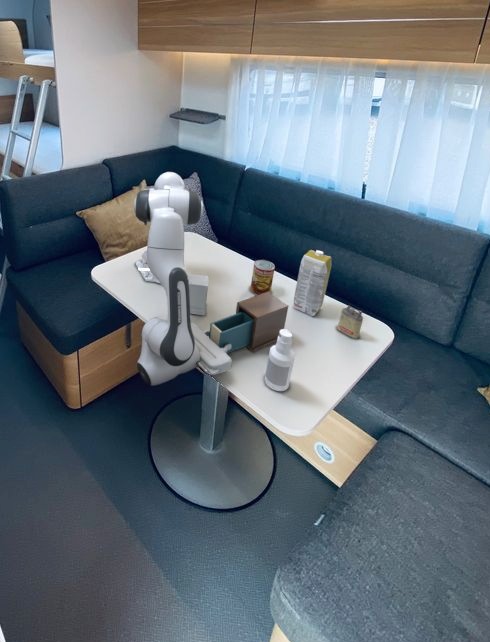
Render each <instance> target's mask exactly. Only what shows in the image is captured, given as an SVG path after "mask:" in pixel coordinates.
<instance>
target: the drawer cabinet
mask: <svg viewBox="0 0 490 642" xmlns="http://www.w3.org/2000/svg"><path fill="white" fill-rule="evenodd" d="M235 308H236V309H235V314H237V313H240V312H243V311H244V312H245V313H246V314H248V315H249V316H250V317H252V318H253V319H254V322H253V329H252V335H251V341H250V344H249V345H246V346H245V347H246V348H248V349H249V350H250V351H251V352H255V351H257V350H259V349H262V348H264V347H266V346H269V345H271V344H274V343H277V339H278V336H279V333H280V330H281V329H285V326H286V322H287V321H286V320H287V315H288V311H289V305H288V304H286V303H285V302H284V301H282V300H281V299H279V298H278V297H277V296H275V295H273V293H269V292H266V293H263V294H260V295H254V296H251V297H249V298H245V299H243V300H239V301H237V302H236V307H235Z"/></svg>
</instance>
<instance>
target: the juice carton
mask: <svg viewBox="0 0 490 642" xmlns="http://www.w3.org/2000/svg"><path fill="white" fill-rule="evenodd" d="M331 269H332V257H331V256H330V255H326V254H324V251H322V250H317V249H316V251H315V250H312V249H310V250H308V251H307V252H306V253H304V254H303V257H302V258H301V261H300V265H299V269H298V275H297V281H296V285H295V291H294V296H293V308H294V309H296V310H298V311H300V312H302V313H304V314H307V315H309V316H311V317H314V316H316V314H317V313H318V312H319V311H320V309H321V308H322V306H323V304H324V300H325V295H326V291H327V287H328V284H329V283H328V282H329V278H330V274H331Z"/></svg>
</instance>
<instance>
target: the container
mask: <svg viewBox="0 0 490 642" xmlns="http://www.w3.org/2000/svg"><path fill="white" fill-rule="evenodd" d="M253 322H254V319H253V318H252V317H250V316H249V315H248V314H246V313H245V312H244V311H243V312H240V313H237V314H236V313H235V314H232V315H229V316H227V317H223V318H221V319H218V320H215V321H213V322H210V323H209V324H210V325H209V330H210V331H209V336H208V337H209V338H210V339H211V340H212V341H213V342H214V343H215V344H216V345H217V346H218V347H220V348H223V349H224V343H227V342H229V343H230V344H231V345H232V346H231V349H230V350H228V351H227V353H226V354H227V355H228V354H230V353H232V352H234V351H236V350H239V349H241V348H244V347H247V346H246V345H249V344H250V341H251V335H252V329H253Z"/></svg>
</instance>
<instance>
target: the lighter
mask: <svg viewBox="0 0 490 642" xmlns="http://www.w3.org/2000/svg"><path fill="white" fill-rule="evenodd" d="M362 314H363V311H362V310H358V309H357V308H354V307H352V306H351V305H350V304H348V305H347V307H343V308H342V309H341V312H340V316H339V321H338V324H337V327H336V328H337V330H338V331H339V332H340V333H342V334H344V335H346V336H348V337H350V338H351V339H358V338H360V337H359V335H360V332H361V329H362V325H363V322H364V321H363V320H364V316H363V315H362Z"/></svg>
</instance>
